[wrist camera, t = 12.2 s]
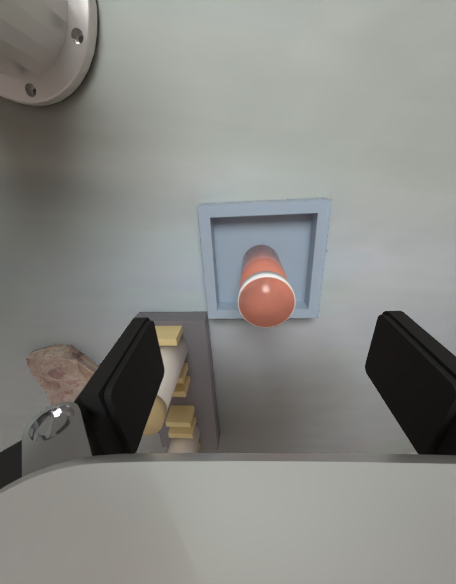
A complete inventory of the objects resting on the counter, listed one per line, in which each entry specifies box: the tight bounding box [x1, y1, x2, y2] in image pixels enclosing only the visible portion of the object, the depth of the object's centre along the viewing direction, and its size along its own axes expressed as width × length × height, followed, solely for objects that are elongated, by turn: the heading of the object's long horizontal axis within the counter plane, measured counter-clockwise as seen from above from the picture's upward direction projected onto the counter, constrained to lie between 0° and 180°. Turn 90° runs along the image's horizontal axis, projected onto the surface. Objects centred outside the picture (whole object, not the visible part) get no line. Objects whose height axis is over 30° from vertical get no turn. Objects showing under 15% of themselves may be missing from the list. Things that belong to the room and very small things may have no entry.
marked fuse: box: [238, 245, 296, 328], centre depth 20 cm, size 4×4×9 cm
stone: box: [26, 344, 99, 406], centre depth 32 cm, size 12×12×3 cm
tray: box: [197, 198, 332, 319], centre depth 23 cm, size 11×11×2 cm
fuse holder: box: [135, 312, 219, 453], centre depth 27 cm, size 21×8×11 cm, turn 3°
